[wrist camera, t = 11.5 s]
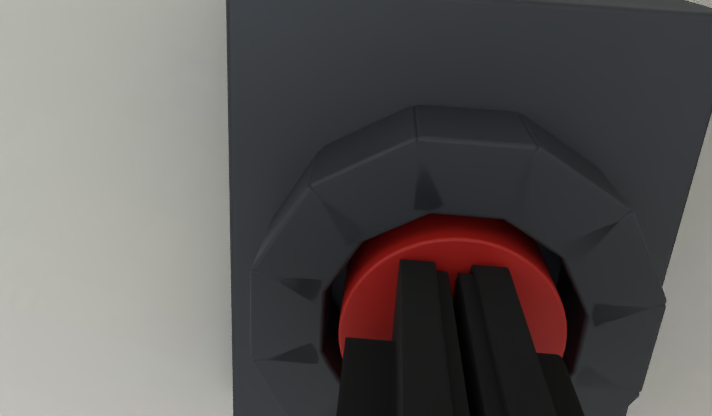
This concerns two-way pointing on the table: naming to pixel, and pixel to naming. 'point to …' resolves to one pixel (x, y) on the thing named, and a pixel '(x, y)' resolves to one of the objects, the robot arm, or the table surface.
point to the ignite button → (450, 274)
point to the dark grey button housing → (457, 165)
